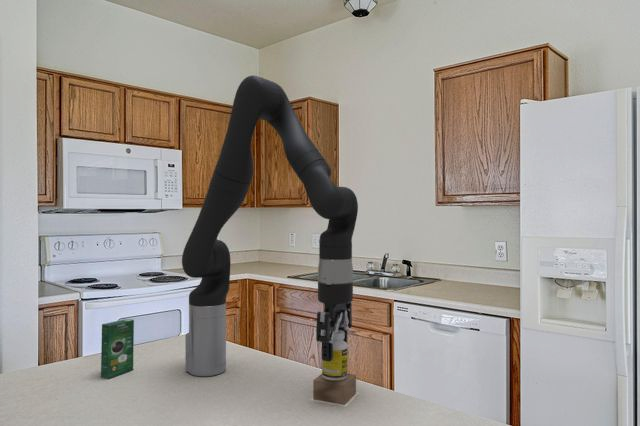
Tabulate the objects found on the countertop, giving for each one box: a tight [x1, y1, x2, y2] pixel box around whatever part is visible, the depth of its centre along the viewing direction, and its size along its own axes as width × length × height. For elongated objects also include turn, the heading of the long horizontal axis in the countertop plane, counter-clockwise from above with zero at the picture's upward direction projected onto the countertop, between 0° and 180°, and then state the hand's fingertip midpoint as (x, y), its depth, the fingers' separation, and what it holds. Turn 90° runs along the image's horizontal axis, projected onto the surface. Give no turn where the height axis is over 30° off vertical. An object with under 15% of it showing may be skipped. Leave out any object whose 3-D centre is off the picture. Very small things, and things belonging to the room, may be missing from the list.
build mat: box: [308, 391, 361, 408], centre depth 108 cm, size 12×12×1 cm
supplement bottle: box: [321, 330, 349, 381], centre depth 105 cm, size 5×5×10 cm
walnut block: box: [312, 373, 357, 405], centre depth 105 cm, size 7×7×4 cm
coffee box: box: [100, 318, 135, 380], centre depth 122 cm, size 8×3×13 cm, turn 153°
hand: (334, 355), depth 105 cm, fingers open, 8 cm apart
